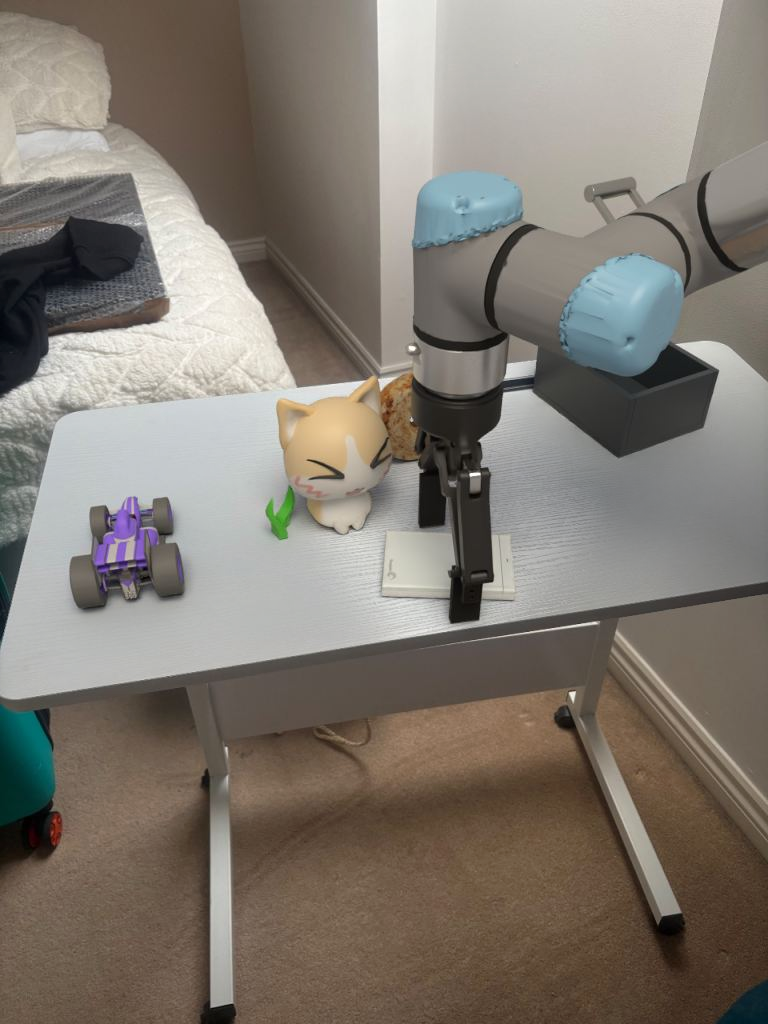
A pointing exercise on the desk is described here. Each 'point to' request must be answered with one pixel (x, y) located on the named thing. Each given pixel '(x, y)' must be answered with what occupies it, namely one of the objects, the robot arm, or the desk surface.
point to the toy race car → (127, 553)
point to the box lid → (612, 194)
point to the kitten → (333, 457)
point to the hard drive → (438, 566)
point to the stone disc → (399, 417)
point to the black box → (629, 398)
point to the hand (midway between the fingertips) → (446, 568)
